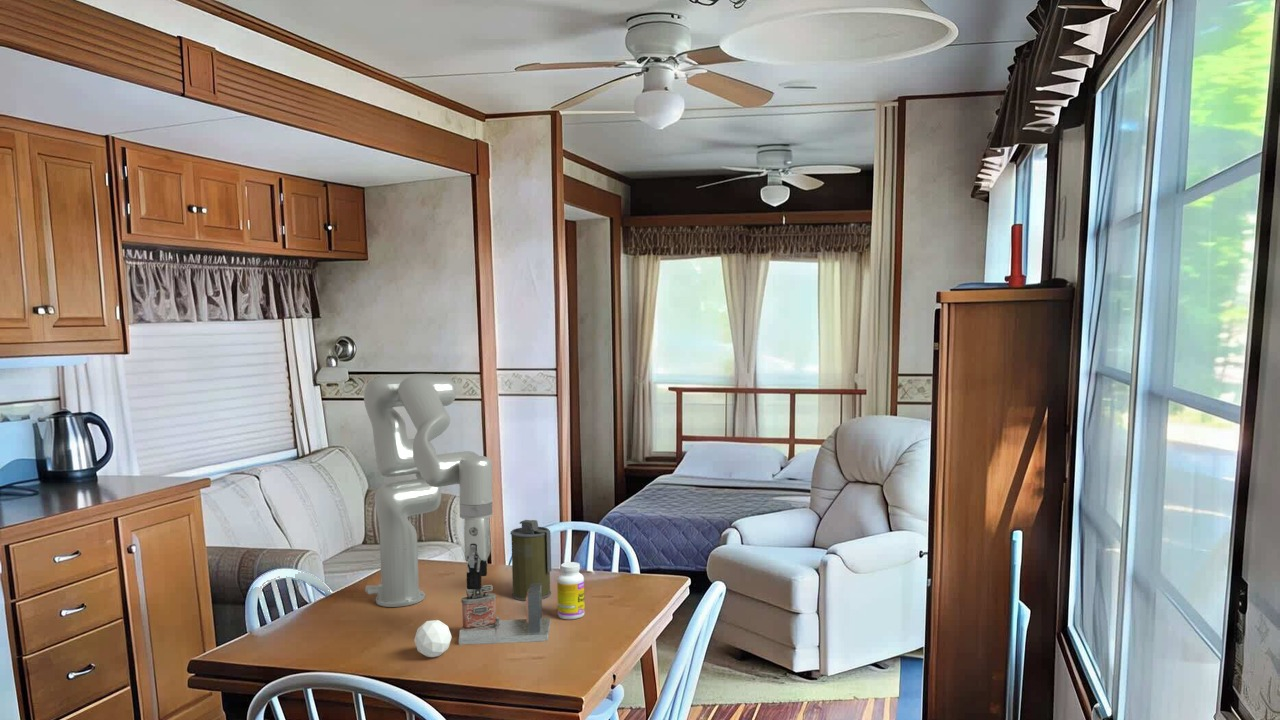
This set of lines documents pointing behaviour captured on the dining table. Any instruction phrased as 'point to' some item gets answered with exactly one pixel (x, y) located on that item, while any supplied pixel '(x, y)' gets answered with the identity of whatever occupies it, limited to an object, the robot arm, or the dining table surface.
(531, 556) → the canister
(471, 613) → the lighter
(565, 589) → the supplement bottle
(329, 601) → the dining table surface
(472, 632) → the finger rail
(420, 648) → the geometric ball
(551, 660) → the dining table surface
